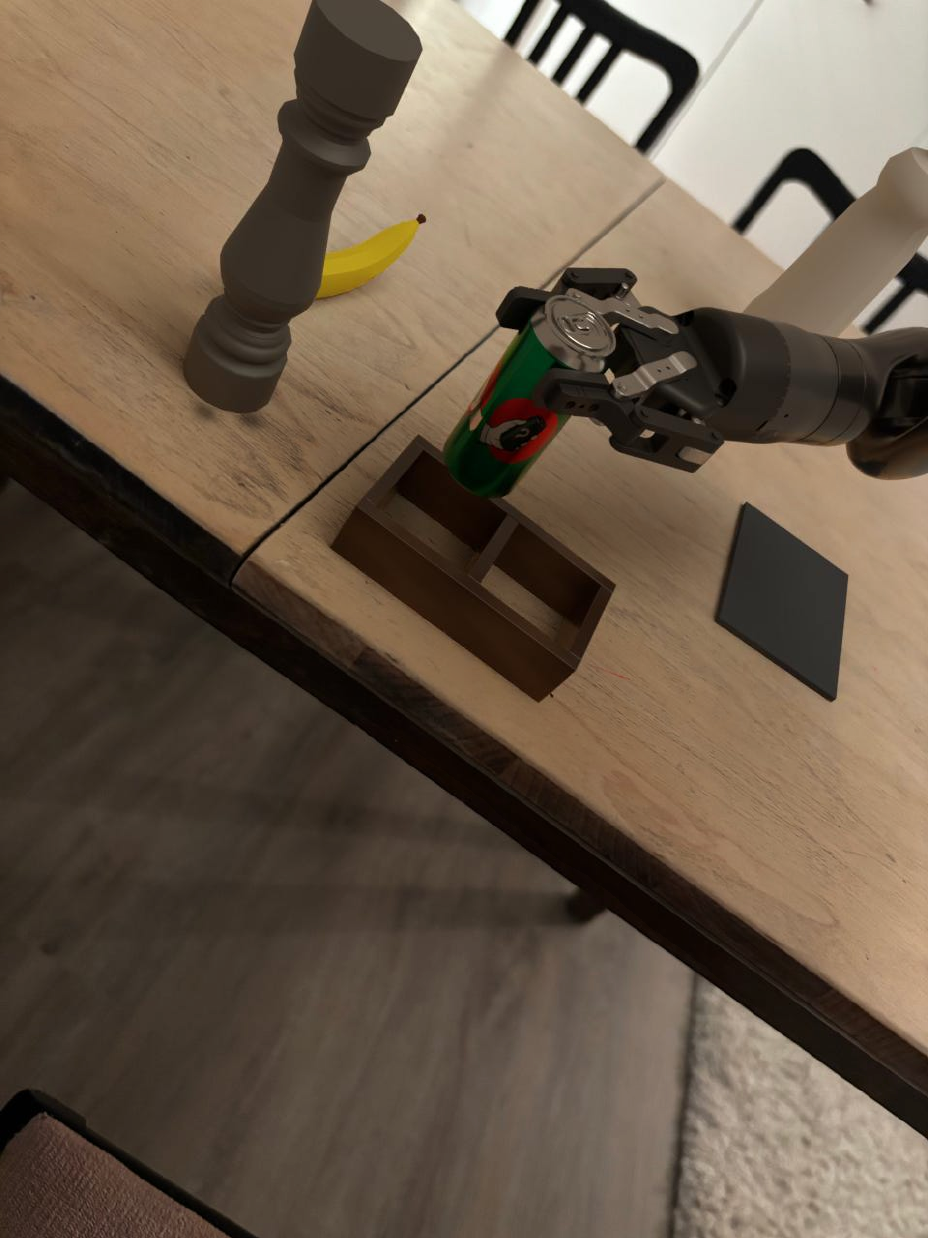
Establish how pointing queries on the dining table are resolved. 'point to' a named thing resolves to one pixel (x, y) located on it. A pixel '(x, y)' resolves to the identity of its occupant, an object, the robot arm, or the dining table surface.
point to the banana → (366, 258)
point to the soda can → (524, 397)
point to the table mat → (785, 601)
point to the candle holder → (299, 197)
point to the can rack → (477, 571)
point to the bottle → (854, 253)
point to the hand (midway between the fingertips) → (523, 346)
